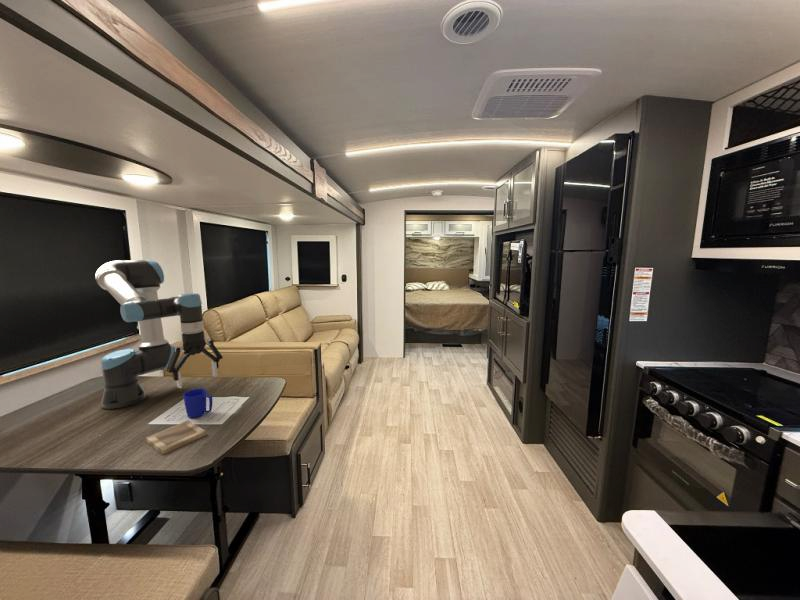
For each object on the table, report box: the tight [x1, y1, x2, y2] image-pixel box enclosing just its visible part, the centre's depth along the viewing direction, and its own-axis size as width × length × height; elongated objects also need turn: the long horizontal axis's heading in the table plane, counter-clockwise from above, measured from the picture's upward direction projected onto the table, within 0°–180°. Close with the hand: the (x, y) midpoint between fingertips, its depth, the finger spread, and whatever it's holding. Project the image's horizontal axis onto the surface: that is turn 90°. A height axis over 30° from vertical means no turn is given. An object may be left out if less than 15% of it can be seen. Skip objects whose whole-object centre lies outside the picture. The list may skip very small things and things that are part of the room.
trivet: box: [145, 419, 207, 455], centre depth 115 cm, size 14×14×2 cm
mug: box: [182, 388, 214, 419], centre depth 130 cm, size 8×12×10 cm
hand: (198, 381), depth 129 cm, fingers open, 13 cm apart
